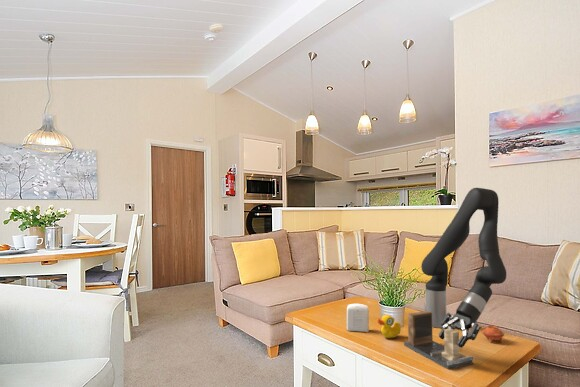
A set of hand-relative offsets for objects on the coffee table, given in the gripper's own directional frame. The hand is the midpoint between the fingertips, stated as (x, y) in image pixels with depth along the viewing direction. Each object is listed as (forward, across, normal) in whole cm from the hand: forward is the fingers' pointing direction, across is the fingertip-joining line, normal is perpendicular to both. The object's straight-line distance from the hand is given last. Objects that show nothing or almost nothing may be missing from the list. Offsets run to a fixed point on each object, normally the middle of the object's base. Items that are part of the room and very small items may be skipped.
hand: (449, 341), depth 128 cm
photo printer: (+15, -42, -4) cm, 44 cm away
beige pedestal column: (+4, 0, +5) cm, 6 cm away
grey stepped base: (+5, -8, +6) cm, 11 cm away
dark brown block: (+4, -16, +5) cm, 17 cm away
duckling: (+9, -28, +2) cm, 30 cm away
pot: (-18, -8, +29) cm, 35 cm away
